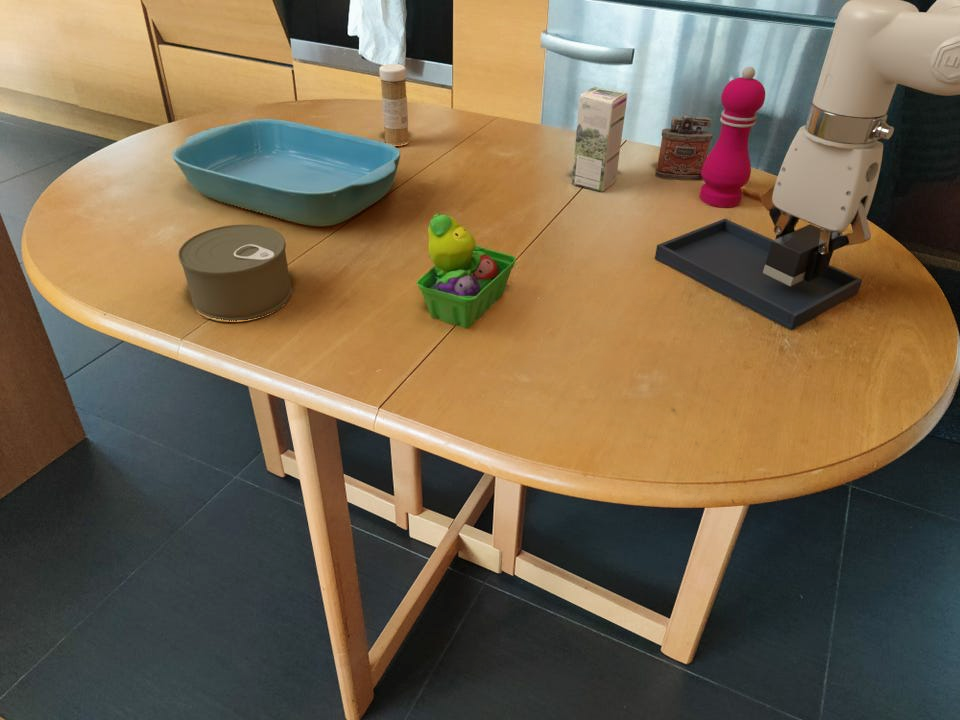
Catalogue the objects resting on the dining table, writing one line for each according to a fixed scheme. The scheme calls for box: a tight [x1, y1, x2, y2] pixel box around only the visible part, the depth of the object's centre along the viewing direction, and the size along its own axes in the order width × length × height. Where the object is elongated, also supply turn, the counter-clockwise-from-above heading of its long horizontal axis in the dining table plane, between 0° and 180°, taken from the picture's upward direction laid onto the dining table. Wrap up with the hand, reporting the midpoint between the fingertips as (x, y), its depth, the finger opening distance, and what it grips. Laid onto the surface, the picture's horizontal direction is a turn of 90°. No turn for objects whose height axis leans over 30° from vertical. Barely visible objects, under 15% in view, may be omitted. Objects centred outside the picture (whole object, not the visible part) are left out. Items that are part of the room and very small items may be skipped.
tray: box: [654, 218, 864, 331], centre depth 93 cm, size 21×14×2 cm
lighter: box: [654, 114, 714, 182], centre depth 117 cm, size 8×3×10 cm, turn 82°
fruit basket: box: [416, 213, 517, 330], centre depth 83 cm, size 11×9×11 cm
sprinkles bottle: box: [378, 63, 410, 145], centre depth 127 cm, size 5×5×13 cm
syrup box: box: [571, 86, 628, 193], centre depth 113 cm, size 6×6×14 cm
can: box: [177, 224, 292, 321], centre depth 85 cm, size 12×12×7 cm
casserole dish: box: [171, 118, 401, 228], centre depth 110 cm, size 37×22×7 cm, turn 61°
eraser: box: [763, 223, 830, 286], centre depth 88 cm, size 4×8×4 cm, turn 127°
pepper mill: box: [699, 66, 766, 208], centre depth 107 cm, size 7×7×20 cm
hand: (796, 268), depth 89 cm, fingers closed on eraser, 4 cm apart
